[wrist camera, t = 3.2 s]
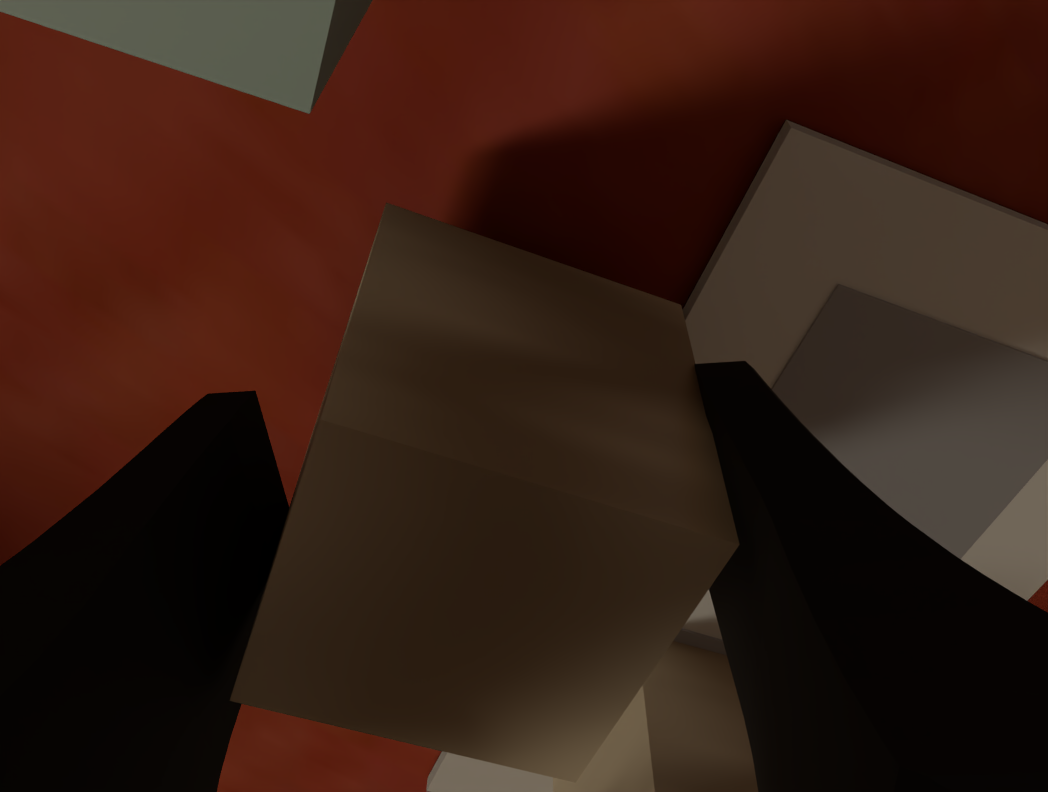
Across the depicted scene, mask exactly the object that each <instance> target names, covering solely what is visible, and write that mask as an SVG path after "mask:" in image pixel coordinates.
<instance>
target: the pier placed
mask: <svg viewBox="0 0 1048 792" xmlns="http://www.w3.org/2000/svg"><path fill="white" fill-rule="evenodd" d="M553 792H758V787H757V781H756V775H755V769H754V763H753V757H752V751H751V747H750V743H749V738H748V734H747V729H746V725H745V720H744V716H743V713H742V709H741V705H740V702H739V698H738V694H737V691H736V687H735V683H734V680H733V676H732V672H731V669H730V665H729V662H728V658H727V655H723V654H719V653H716V652H712V651H709V650H705V649H701V648H698V647H694V646H690V645H687V644H683V643H679V642H676V641H673V642H672V643H671V645H670V646H669V648H668V649H667V651H666V652H665V654H664V655H663V656H662V658H661V659H660V661H659V662H658V664H657V665H656V667H655V668H654V670H653V671H652V672H651V674H650V675H649V677H648V678H647V680H646V681H645V683H644V684H643V685H642V687H641V688H640V690H639V691H638V693H637V694H636V696H635V697H634V699H633V700H632V701H631V703H630V704H629V706H628V707H627V709H626V710H625V712H624V713H623V715H622V716H621V717H620V719H619V720H618V722H617V723H616V725H615V726H614V728H613V729H612V730H611V732H610V733H609V735H608V736H607V738H606V739H605V741H604V742H603V744H602V745H601V746H600V748H599V749H598V751H597V752H596V754H595V755H594V757H593V758H592V760H591V761H590V762H589V764H588V765H587V767H586V768H585V770H584V771H583V773H582V774H581V776H580V777H579V778H578V780H577V781H576V783H574V782H570V781H566V780H561V779H557V778H553Z"/></svg>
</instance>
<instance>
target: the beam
mask: <svg viewBox="0 0 1048 792" xmlns="http://www.w3.org/2000/svg"><path fill="white" fill-rule="evenodd" d="M371 2H372V0H0V11H1V12H4V13H7V14H10V15H13V16H16V17H19V18H22V19H25V20H28V21H31V22H34V23H37V24H40V25H43V26H46V27H49V28H52V29H55V30H58V31H61V32H64V33H67V34H70V35H73V36H76V37H79V38H82V39H85V40H88V41H91V42H94V43H97V44H100V45H103V46H106V47H109V48H112V49H115V50H118V51H121V52H124V53H127V54H130V55H133V56H136V57H140V58H143V59H146V60H149V61H152V62H155V63H158V64H161V65H164V66H167V67H170V68H173V69H176V70H179V71H182V72H185V73H188V74H191V75H194V76H197V77H200V78H203V79H206V80H209V81H212V82H215V83H218V84H221V85H224V86H227V87H230V88H233V89H236V90H239V91H242V92H245V93H248V94H251V95H254V96H257V97H260V98H263V99H266V100H269V101H272V102H275V103H278V104H281V105H284V106H287V107H290V108H293V109H296V110H300V111H303V112H306V113H309V114H310V112H311V110H312V109H313V107H314V105H315V103H316V101H317V100H318V98H319V96H320V94H321V92H322V91H323V89H324V87H325V85H326V83H327V82H328V80H329V78H330V76H331V74H332V73H333V71H334V69H335V67H336V65H337V63H338V62H339V60H340V58H341V56H342V54H343V53H344V51H345V49H346V47H347V45H348V44H349V42H350V40H351V38H352V36H353V35H354V33H355V31H356V29H357V27H358V26H359V24H360V22H361V20H362V18H363V17H364V15H365V13H366V11H367V9H368V7H369V6H370V4H371Z"/></svg>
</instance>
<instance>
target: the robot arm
mask: <svg viewBox="0 0 1048 792" xmlns="http://www.w3.org/2000/svg"><path fill="white" fill-rule="evenodd" d="M694 367H695V371H696V375H697V379H698V384H699V388H700V392H701V396H702V401H703V405H704V409H705V413H706V417H707V420H708V423H709V425H710V428H711V431H712V433H713V438H714V442H715V446H716V450H717V454H718V458H719V462H720V466H721V470H722V475H723V479H724V483H725V487H726V491H727V495H728V499H729V503H730V507H731V512H732V516H733V520H734V524H735V528H736V532H737V536H738V540H739V544H740V545H739V546H738V548H737V549H736V550H735V552H734V553H733V555H732V556H731V558H730V559H729V561H728V562H727V564H726V565H725V566H724V568H723V569H722V571H721V572H720V574H719V575H718V577H717V578H716V579H715V581H714V582H713V584H712V585H711V587H710V588H709V592H710V595H711V599H712V603H713V607H714V610H715V614H716V618H717V621H718V625H719V629H720V632H721V636H722V640H723V643H724V647H725V651H726V654H727V658H728V662H729V665H730V669H731V672H732V676H733V680H734V683H735V687H736V691H737V694H738V698H739V702H740V705H741V709H742V713H743V716H744V720H745V725H746V729H747V734H748V738H749V743H750V747H751V751H752V757H753V763H754V769H755V775H756V781H757V787H758V792H1048V613H1047V612H1046V611H1044V610H1042V609H1040V608H1038V607H1037V606H1035V605H1033V604H1031V603H1030V602H1028V601H1026V600H1025V599H1023V598H1022V597H1020V596H1018V595H1017V594H1015V593H1013V592H1012V591H1010V590H1008V589H1007V588H1005V587H1003V586H1002V585H1000V584H999V583H997V582H995V581H994V580H992V579H990V578H989V577H987V576H985V575H984V574H982V573H981V572H979V571H978V570H976V569H975V568H973V567H972V566H970V565H969V564H967V563H965V562H964V561H962V560H961V559H959V558H958V557H956V556H955V555H954V554H952V553H951V552H949V551H948V550H947V549H945V548H944V547H942V546H941V545H940V544H938V543H937V542H936V541H934V540H933V539H932V538H930V537H929V536H927V535H926V534H925V533H923V532H922V531H921V530H919V529H918V528H916V527H915V526H914V525H912V524H911V523H910V522H908V521H907V520H906V519H904V518H903V517H902V516H901V515H899V514H898V513H897V512H896V511H894V510H893V509H892V508H891V507H890V506H888V505H887V504H886V503H885V502H884V501H883V500H882V499H880V498H879V497H878V496H877V495H876V494H875V493H874V492H872V491H871V490H870V489H869V488H868V487H867V486H866V485H864V484H863V483H862V482H861V481H860V480H859V479H858V478H857V477H856V476H855V475H854V474H852V473H851V472H850V471H849V470H848V469H847V468H846V467H845V466H844V465H843V464H842V463H841V462H840V461H839V460H838V459H837V458H836V457H835V456H834V455H833V454H832V453H831V452H830V451H829V450H828V449H827V448H826V447H825V446H824V445H823V444H822V443H821V442H820V441H819V440H818V439H817V438H816V437H815V436H814V435H813V434H812V433H811V432H810V431H809V430H808V429H807V428H806V427H805V426H804V425H803V424H802V423H801V422H800V421H799V419H798V418H797V417H796V416H795V415H794V414H793V413H792V412H791V411H790V410H789V408H788V407H787V406H786V405H785V404H784V403H783V402H782V401H781V400H780V398H779V397H778V396H777V395H776V394H775V393H774V392H773V390H772V389H771V388H770V387H769V386H768V385H767V383H766V382H765V381H764V380H763V379H762V378H761V376H760V375H759V374H758V373H757V372H756V370H755V369H754V368H753V367H752V366H751V365H749V364H748V363H747V362H746V361H733V362H717V363H701V364H694ZM288 511H289V505H288V502H287V499H286V495H285V492H284V488H283V485H282V481H281V478H280V474H279V471H278V467H277V464H276V460H275V457H274V453H273V450H272V446H271V443H270V440H269V436H268V433H267V429H266V426H265V422H264V419H263V415H262V412H261V408H260V405H259V401H258V398H257V394H256V391H244V392H228V393H212V394H207V395H206V396H204V397H203V398H202V399H200V400H199V401H198V402H197V403H195V404H194V405H193V406H192V407H191V408H189V409H188V410H187V411H186V412H185V413H184V414H182V415H181V416H180V417H179V418H178V419H177V420H176V421H174V422H173V423H172V424H171V425H170V426H169V427H168V428H167V429H165V430H164V431H163V432H162V433H161V434H160V435H159V436H158V437H157V438H155V439H154V440H153V441H152V442H151V443H150V444H149V445H148V446H147V447H145V448H144V449H143V450H142V451H141V452H140V453H139V454H138V455H136V456H135V457H134V458H133V459H132V460H131V461H130V462H128V463H127V464H126V465H125V466H124V467H123V468H122V469H120V470H119V471H118V472H117V473H116V474H115V475H114V476H112V477H111V478H110V479H109V480H108V481H107V482H106V483H105V484H103V485H102V486H101V487H100V488H99V489H98V490H96V491H95V492H94V493H93V494H92V495H90V496H89V497H88V498H87V499H85V500H84V501H83V502H82V503H80V504H79V505H78V506H77V507H75V508H74V509H73V510H72V511H71V512H69V513H68V514H67V515H66V516H64V517H63V518H62V519H61V520H59V521H58V522H57V523H56V524H54V525H53V526H52V527H51V528H49V529H48V530H47V531H46V532H44V533H43V534H42V535H41V536H40V537H38V538H37V539H36V540H35V541H33V542H32V543H31V544H29V545H28V546H27V547H25V548H24V549H23V550H21V551H20V552H19V553H17V554H16V555H15V556H13V557H12V558H10V559H9V560H8V561H6V562H5V563H4V564H2V565H1V566H0V792H217V787H218V783H219V778H220V773H221V770H222V766H223V762H224V759H225V755H226V752H227V748H228V744H229V741H230V737H231V734H232V731H233V728H234V725H235V722H236V719H237V716H238V713H239V710H240V707H241V703H237V702H233V701H230V698H231V695H232V692H233V688H234V685H235V682H236V679H237V675H238V672H239V669H240V666H241V663H242V659H243V656H244V653H245V650H246V646H247V643H248V640H249V637H250V633H251V630H252V627H253V624H254V620H255V617H256V614H257V611H258V608H259V604H260V601H261V598H262V595H263V591H264V588H265V585H266V582H267V578H268V575H269V572H270V569H271V566H272V562H273V559H274V556H275V553H276V549H277V546H278V543H279V540H280V537H281V533H282V530H283V527H284V524H285V520H286V517H287V514H288Z"/></svg>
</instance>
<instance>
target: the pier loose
mask: <svg viewBox="0 0 1048 792" xmlns="http://www.w3.org/2000/svg"><path fill="white" fill-rule="evenodd" d="M694 364H695V359H694V355H693V351H692V347H691V343H690V339H689V335H688V331H687V327H686V322H685V318H684V314H683V310H682V306H681V305H680V304H677V303H674V302H671V301H669V300H666V299H663V298H660V297H657V296H654V295H651V294H648V293H645V292H643V291H640V290H637V289H634V288H631V287H628V286H625V285H622V284H620V283H617V282H614V281H611V280H608V279H605V278H602V277H599V276H596V275H594V274H591V273H588V272H585V271H582V270H579V269H576V268H573V267H571V266H568V265H565V264H562V263H559V262H556V261H553V260H550V259H547V258H545V257H542V256H539V255H536V254H533V253H530V252H527V251H524V250H522V249H519V248H516V247H513V246H510V245H507V244H504V243H501V242H498V241H496V240H493V239H490V238H487V237H484V236H481V235H478V234H475V233H473V232H470V231H467V230H464V229H461V228H458V227H455V226H452V225H449V224H447V223H444V222H441V221H438V220H435V219H432V218H429V217H426V216H424V215H421V214H418V213H415V212H412V211H409V210H406V209H403V208H400V207H398V206H395V205H392V204H389V203H386V205H385V208H384V211H383V214H382V218H381V221H380V224H379V227H378V230H377V233H376V236H375V239H374V243H373V246H372V249H371V252H370V255H369V258H368V261H367V264H366V268H365V271H364V274H363V277H362V280H361V283H360V286H359V289H358V293H357V296H356V299H355V302H354V305H353V308H352V311H351V314H350V318H349V321H348V324H347V327H346V330H345V333H344V336H343V339H342V343H341V346H340V349H339V352H338V355H337V358H336V361H335V364H334V368H333V371H332V374H331V377H330V380H329V383H328V386H327V389H326V393H325V396H324V399H323V402H322V405H321V408H320V411H319V414H318V418H317V421H316V424H315V427H314V430H313V433H312V436H311V439H310V443H309V446H308V449H307V452H306V455H305V459H304V462H303V465H302V468H301V472H300V475H299V478H298V481H297V485H296V488H295V491H294V494H293V498H292V501H291V504H290V507H289V511H288V514H287V517H286V520H285V524H284V527H283V530H282V533H281V537H280V540H279V543H278V546H277V549H276V553H275V556H274V559H273V562H272V566H271V569H270V572H269V575H268V578H267V582H266V585H265V588H264V591H263V595H262V598H261V601H260V604H259V608H258V611H257V614H256V617H255V620H254V624H253V627H252V630H251V633H250V637H249V640H248V643H247V646H246V650H245V653H244V656H243V659H242V663H241V666H240V669H239V672H238V675H237V679H236V682H235V685H234V688H233V692H232V695H231V698H230V701H233V702H237V703H241V704H245V705H250V706H254V707H258V708H262V709H266V710H271V711H275V712H279V713H283V714H287V715H292V716H296V717H300V718H304V719H309V720H313V721H317V722H321V723H325V724H330V725H334V726H338V727H342V728H346V729H351V730H355V731H359V732H363V733H368V734H372V735H376V736H380V737H384V738H389V739H393V740H397V741H401V742H406V743H410V744H414V745H418V746H422V747H427V748H431V749H435V750H439V751H443V752H448V753H452V754H456V755H460V756H465V757H469V758H473V759H477V760H481V761H486V762H490V763H494V764H498V765H502V766H507V767H511V768H515V769H519V770H524V771H528V772H532V773H536V774H540V775H545V776H549V777H553V778H557V779H561V780H566V781H570V782H574V783H576V781H577V780H578V778H579V777H580V776H581V774H582V773H583V771H584V770H585V768H586V767H587V765H588V764H589V762H590V761H591V760H592V758H593V757H594V755H595V754H596V752H597V751H598V749H599V748H600V746H601V745H602V744H603V742H604V741H605V739H606V738H607V736H608V735H609V733H610V732H611V730H612V729H613V728H614V726H615V725H616V723H617V722H618V720H619V719H620V717H621V716H622V715H623V713H624V712H625V710H626V709H627V707H628V706H629V704H630V703H631V701H632V700H633V699H634V697H635V696H636V694H637V693H638V691H639V690H640V688H641V687H642V685H643V684H644V683H645V681H646V680H647V678H648V677H649V675H650V674H651V672H652V671H653V670H654V668H655V667H656V665H657V664H658V662H659V661H660V659H661V658H662V656H663V655H664V654H665V652H666V651H667V649H668V648H669V646H670V645H671V643H672V642H673V640H674V639H675V638H676V636H677V635H678V633H679V632H680V630H681V629H682V627H683V626H684V624H685V623H686V622H687V620H688V619H689V617H690V616H691V614H692V613H693V611H694V610H695V609H696V607H697V606H698V604H699V603H700V601H701V600H702V598H703V597H704V595H705V594H706V593H707V591H708V590H709V588H710V587H711V585H712V584H713V582H714V581H715V579H716V578H717V577H718V575H719V574H720V572H721V571H722V569H723V568H724V566H725V565H726V564H727V562H728V561H729V559H730V558H731V556H732V555H733V553H734V552H735V550H736V549H737V548H738V546H739V545H740V544H739V540H738V536H737V532H736V528H735V524H734V520H733V516H732V512H731V507H730V503H729V499H728V495H727V491H726V487H725V483H724V479H723V475H722V470H721V466H720V462H719V458H718V454H717V450H716V446H715V442H714V438H713V433H712V431H711V428H710V425H709V423H708V420H707V417H706V413H705V409H704V405H703V401H702V396H701V392H700V388H699V384H698V379H697V375H696V371H695V367H694Z"/></svg>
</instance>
